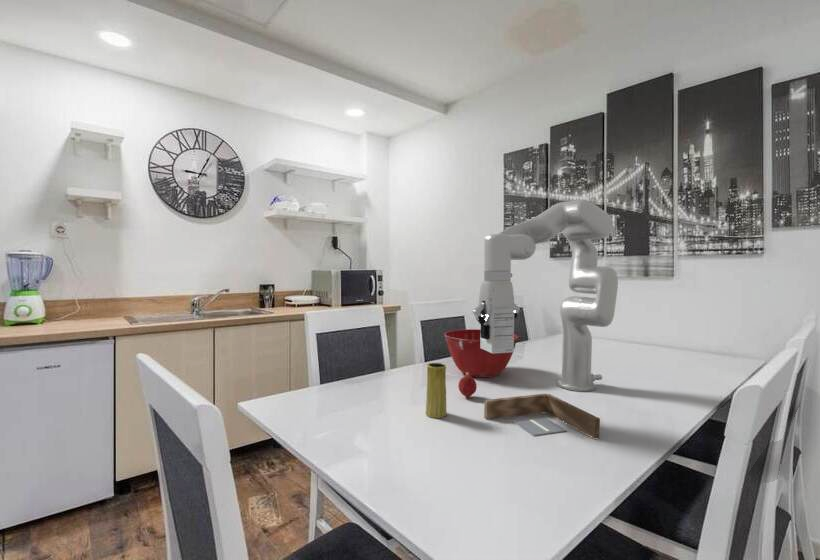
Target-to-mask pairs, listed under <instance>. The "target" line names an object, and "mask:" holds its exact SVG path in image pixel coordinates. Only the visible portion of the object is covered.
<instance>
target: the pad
mask: <svg viewBox="0 0 820 560" xmlns="http://www.w3.org/2000/svg"><path fill="white" fill-rule="evenodd" d="M511 422H512V423H514V424H515V425H517V426H519V427H520V428H521V429H523V430H524V431H526V432H527V433H528V434H530V435H532V436H533V437H538V436H544V434H545V435H550V433H552V434H557V433H556V432H559V433H564V432H563V431H566V432H568V430H567V429H566V428H564V427H562V426H561V425H559V424H558V423H555V422H554V421H552V420H551V419H549V418H547V417H545V416H544V415H543V416H538V417H528V418H521V419H514V420H512V419H511Z"/></svg>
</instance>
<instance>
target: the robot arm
mask: <svg viewBox="0 0 820 560" xmlns="http://www.w3.org/2000/svg"><path fill="white" fill-rule="evenodd" d="M613 229H614V222H613V218H612V217H611V216H610V214H609V213H608V212H606V211H605V210H603V209H602V208H601V207H599V206H598V205H597V204H595V203H593V202H591V201H590V200H587V199H576V200H569V201H562V202H557V203H555V204H554V205H552V206H550V207H548V208H547V209H546V210H544V211H543V212H542V213H539V214H538V215H536V216H535V217H532V218H529V219H527V220H525V221H522V222H520V223H518V224H515V225H512V226H510V227H508V228H505V229H504V230H502V231H500V232H499V233H495V234H488V235H486V236H485V238H484V246H483V247H484V249H483V250H484V252H483V253H484V256H483V257H484V258H483V259H484V263H483V264H484V273H483V274H484V275H483V282H481V284H480V289H479V295H478V296H479V297H478V306H476V307H475V308H474V309H473V310H472V313H473V315H474V317H475V319H476V321H477V322H478V324H479V325H480V330H481V338H484V339H489V338H490V326H489V325H488V323H489V317H490V316H491V310H492V309H503V308H511V309H514V323H515V322H516V319H517V318H518V314H519V312H520V311H521V308H520V306H518V305H517V304H516V303H515V295H514V288H513V282H512V280H511V279H512V277H513V273H512V272H511V270H512V268H511V266H512V260H513V261H521V260H522V261H524V260H528V259H530V258H531V257H532V256H533V255H534V254H535V252H536V249H537V246H536V244H540V243H544V242H548V241H550V240H551V239H553V238H554V237H556V235H558V234H559V233H561V232H562V234H563V236H564V237H565V239H566V240H567V243H568V244H569V246H570V249H571V261H570V266H569V267H570V269H569V274H568V275H569V276H568V287H569V289H570V290H571V291H572V292H575V293H578V294H579V293H580V294H588V295H589V294H590V295H592V294H593V295H596V297H588V296H569V297H566V298H564V299H563V300H562V301H561V303H560V306H559V313H560V319H561V324H562V351H561V353H562V354H561V355H562V357H561V358H562V359H561V362H562V363H561V378H559V379H558V380H557V382H556V385H558V387H560V388H562V389H565V390H569V391H574V392H575V391H576V392H589V391H591V392H592V391H594V390H596V389H597V388H596V387H597V385H596V383H595V381H601V380H603V375H602V374H600V373H599V374H594V373H592V357H593V355H592V350H593V349H592V346H593V345H592V343H593V338H592V334H591V331H590V329H589V326H592V327H598V328H606V327H608V326H610V325H611V324H612V322H613V320H614V317H615V311H616V303H617V296H618V290H619V289H618V288H619V279H618V274H617V272H616V271H615V269H614V268H613V267H609V266H605V265H602V266H601V265H600V266H599V265H598V259H599V253H598V249H597V247H596V246H595V244H594V243H593V241H592V240H594V239H595V240H596V239H605V238H608V237H609V236H610V235H611V234H612V232H613ZM484 309H486V311H487V314H485V310H484ZM482 312H483V313H482ZM481 315H482V316H481ZM485 317H486V319H485Z"/></svg>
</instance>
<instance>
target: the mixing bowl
mask: <svg viewBox="0 0 820 560" xmlns="http://www.w3.org/2000/svg"><path fill="white" fill-rule="evenodd" d="M444 336H445V340H446V343H447V348H448V351H449V354H450V356H451V358H452V361H453V362H454V364H455V367H456V368H457V369H458V370H459V371H460V372H461V373H463V374H464V375H466V373H469V374H470V376H471V377H473V378H474V377H475V378H492V377H495V376H497V375H498V374H501V373H502V372H503V371H504V370H505V369H506V367H507V366H508V364H509V363H510V360H511V358H512V355H513V354H514V352H510V353H495V354H492V353H490V352H488V351H486V350H484V349H481V348H480V336H481V329H474V328H473V329H472V328H471V329H455V330H449V331H446V332H445V333H444ZM517 339H519V336H518V335H517V334H515V333H514V349H515V348H516V344H517Z"/></svg>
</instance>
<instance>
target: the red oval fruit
mask: <svg viewBox="0 0 820 560" xmlns="http://www.w3.org/2000/svg"><path fill="white" fill-rule="evenodd" d="M458 390H459V392H460V394H461V395H462V396H464V397H465V398H466V399H467V398H470V397H471V396H473V395H474V394H475V393H476V391H477V381H476V380H475V378H474V377H473V376H470V374H469V373H466V374H464V376H463V377H461V378H460V380H459V382H458Z"/></svg>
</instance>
